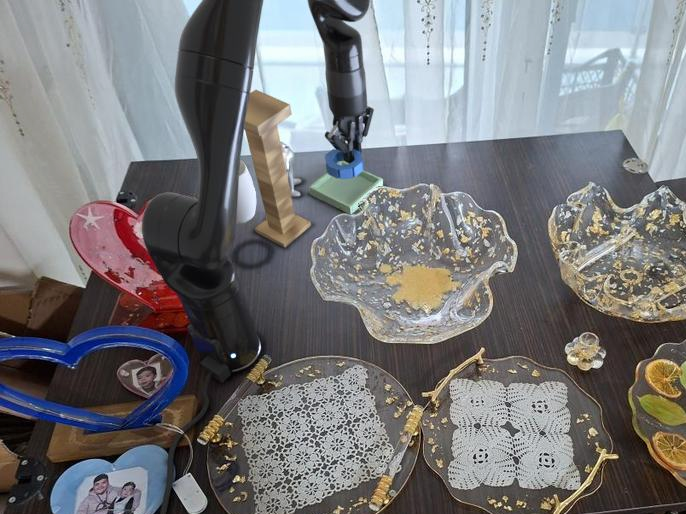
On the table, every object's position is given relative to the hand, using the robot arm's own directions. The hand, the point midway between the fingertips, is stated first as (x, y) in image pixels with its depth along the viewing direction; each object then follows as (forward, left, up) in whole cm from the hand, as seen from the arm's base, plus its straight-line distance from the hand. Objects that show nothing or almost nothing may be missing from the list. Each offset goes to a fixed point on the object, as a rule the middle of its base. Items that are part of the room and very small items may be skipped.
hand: (353, 159), depth 130 cm
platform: (-20, +3, -6) cm, 21 cm away
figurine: (-10, +10, -6) cm, 15 cm away
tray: (-3, 0, -6) cm, 7 cm away
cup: (-29, +3, -6) cm, 30 cm away
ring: (-3, 0, 0) cm, 3 cm away
